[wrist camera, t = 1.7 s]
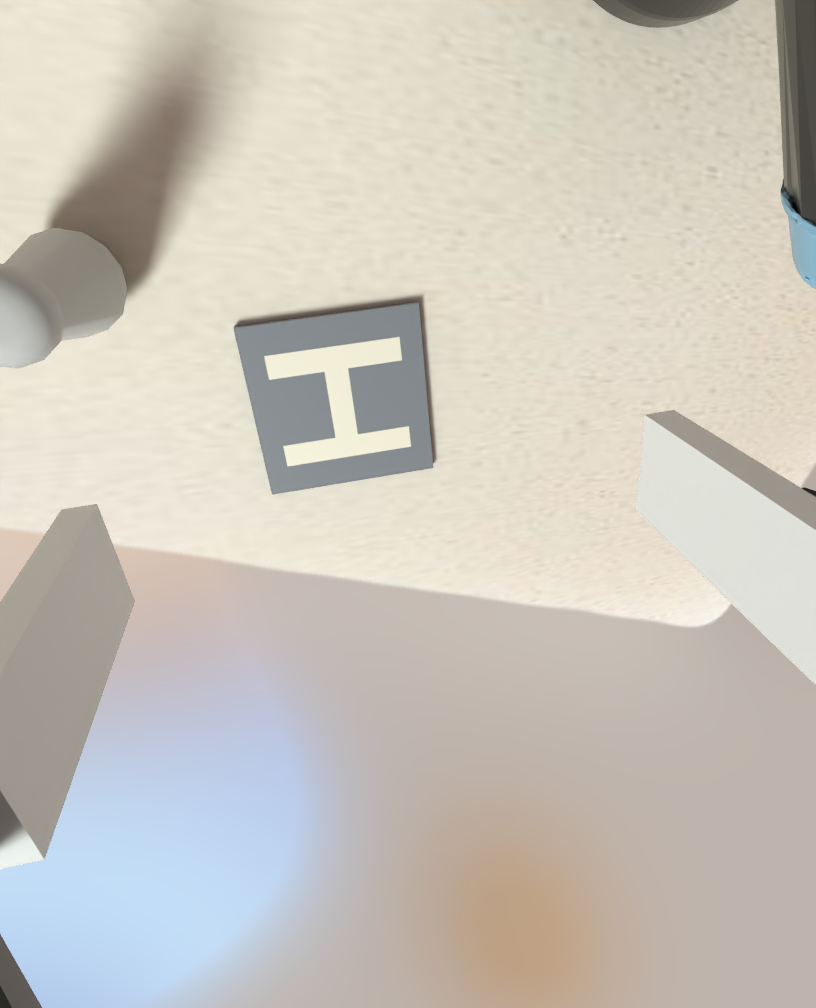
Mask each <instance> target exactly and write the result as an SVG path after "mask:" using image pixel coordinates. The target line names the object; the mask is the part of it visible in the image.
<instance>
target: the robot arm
mask: <svg viewBox="0 0 816 1008" xmlns="http://www.w3.org/2000/svg"><path fill="white" fill-rule="evenodd" d="M594 1H595V2H596V3H597V4H598V5H599V6H601V7H602V8H603V9H605V10H606V11H607V12H609V13H610V14H612V15H614V16H615V17H617V18H620V19H622V20H624V21H626V22H629V23H632V24H636V25H639V26H645V27H657V28H659V27H671V26H677V25H682V24H686V23H689V22H692V21H694V20H697V19H700V18H702V17H705V16H708V15H710V14H713V13H715V12H718V11H720V10H722V9H724V8H726V7H728V6H730V5H732V4H733V3H735V2H736V1H738V0H594ZM775 9H776V26H777V43H778V60H779V79H780V102H781V124H782V147H783V170H784V179H783V184H782V188H781V200H782V204H783V207H784V209H785V212H786V213H787V214H788V219H789V228H790V237H791V246H792V255H793V260H794V264H795V267H796V269H797V271H798V273H799V274H800V276H801V277H802V279H803V280H804V281H805V282H806V283H807V284H809V285H810V286H811V287H813V288H815V289H816V0H775ZM636 512H637V513H638V514H639V515H640V516H641V517H643V518H644V519H645V520H646V521H647V522H648V523H649V524H650V525H651V526H652V527H653V528H654V529H655V530H656V531H657V532H658V533H659V534H660V535H661V536H662V537H663V538H664V539H665V540H666V541H667V542H668V543H669V544H670V545H671V546H672V547H674V548H675V549H676V550H677V551H678V552H679V553H680V554H681V555H682V556H683V557H684V558H685V559H686V560H687V561H688V562H689V563H690V564H691V565H692V566H693V567H694V568H695V569H696V570H697V571H698V572H699V573H700V574H701V575H702V576H703V577H705V578H706V579H707V580H708V581H709V582H710V583H711V584H712V585H713V586H714V587H715V588H716V589H717V590H718V591H719V592H720V593H721V594H722V595H723V596H724V597H725V598H726V599H727V600H728V601H729V602H730V603H731V604H732V605H733V606H734V607H736V608H737V609H738V610H739V611H740V612H741V613H742V614H743V615H744V616H745V617H746V618H747V619H748V620H749V621H750V622H751V623H752V624H753V625H754V626H755V627H756V628H757V629H758V630H759V631H760V632H762V634H763V635H764V636H766V637H767V638H768V639H769V640H770V641H771V642H772V643H773V644H774V645H775V646H776V647H777V648H778V649H779V650H780V651H781V652H782V653H783V654H784V655H785V656H786V657H787V658H788V659H790V661H791V662H792V663H793V664H794V665H795V666H797V667H798V668H799V669H800V670H801V671H802V672H803V673H804V674H805V675H806V676H807V677H808V678H809V679H810V680H811V681H812V682H813V683H814V684H815V685H816V491H813V490H810V489H808V488H800V487H798V486H797V485H795V484H794V483H792V482H790V481H789V480H787V479H785V478H784V477H782V476H780V475H779V474H777V473H776V472H774V471H772V470H771V469H769V468H767V467H766V466H764V465H763V464H761V463H759V462H758V461H756V460H754V459H753V458H751V457H749V456H748V455H746V454H745V453H743V452H741V451H740V450H738V449H736V448H735V447H733V446H732V445H730V444H728V443H727V442H725V441H723V440H722V439H720V438H719V437H717V436H715V435H714V434H712V433H710V432H709V431H707V430H705V429H704V428H702V427H701V426H699V425H697V424H696V423H694V422H692V421H691V420H689V419H688V418H686V417H684V416H683V415H681V414H679V413H678V412H676V411H674V410H672V411H666V412H659V413H653V414H647V415H645V419H644V430H643V441H642V452H641V463H640V474H639V485H638V496H637V507H636ZM134 602H135V601H134V598H133V596H132V593H131V590H130V588H129V585H128V583H127V580H126V577H125V575H124V572H123V570H122V567H121V565H120V562H119V559H118V557H117V554H116V552H115V549H114V547H113V544H112V542H111V539H110V536H109V534H108V531H107V529H106V526H105V524H104V521H103V518H102V516H101V513H100V511H99V508H98V506H97V504H94V505H88V506H82V507H75V508H69V509H63V510H61V511H60V513H59V514H58V516H57V517H56V519H55V520H54V522H53V523H52V525H51V526H50V528H49V530H48V531H47V533H46V534H45V536H44V537H43V539H42V540H41V542H40V543H39V545H38V546H37V548H36V549H35V551H34V552H33V554H32V555H31V557H30V558H29V560H28V561H27V563H26V564H25V566H24V567H23V569H22V570H21V572H20V573H19V575H18V576H17V578H16V579H15V581H14V583H13V584H12V585H11V587H10V589H9V590H8V591H7V593H6V594H5V596H4V597H3V599H2V601H1V602H0V869H2V868H6V867H11V866H16V865H20V864H25V863H29V862H34V861H39V860H43V859H44V858H45V856H46V853H47V850H48V847H49V844H50V842H51V839H52V836H53V833H54V830H55V827H56V825H57V821H58V819H59V816H60V813H61V810H62V807H63V805H64V802H65V799H66V796H67V793H68V790H69V787H70V785H71V782H72V779H73V776H74V773H75V770H76V767H77V765H78V762H79V759H80V756H81V753H82V750H83V747H84V744H85V742H86V739H87V736H88V733H89V730H90V727H91V725H92V722H93V719H94V716H95V713H96V710H97V708H98V705H99V702H100V699H101V696H102V693H103V690H104V687H105V685H106V682H107V679H108V676H109V673H110V670H111V668H112V665H113V662H114V659H115V656H116V653H117V650H118V647H119V645H120V642H121V639H122V636H123V633H124V631H125V627H126V625H127V622H128V619H129V616H130V613H131V610H132V608H133V605H134ZM0 1008H42V1007H41V1005H40V1003H39V1002H38V1000H37V998H36V996H35V995H34V993H33V991H32V989H31V988H30V986H29V984H28V982H27V980H26V979H25V977H24V975H23V973H22V972H21V970H20V968H19V967H18V965H17V963H16V961H15V959H14V958H13V956H12V954H11V952H10V951H9V949H8V947H7V945H6V944H5V942H4V940H3V938H2V937H1V935H0Z"/></svg>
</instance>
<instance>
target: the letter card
mask: <svg viewBox="0 0 816 1008" xmlns="http://www.w3.org/2000/svg"><path fill="white" fill-rule="evenodd" d="M234 332H235V336H236V341H237V345H238V349H239V354H240V358H241V362H242V367H243V371H244V375H245V380H246V384H247V388H248V392H249V397H250V401H251V405H252V410H253V414H254V418H255V423H256V427H257V431H258V436H259V440H260V444H261V449H262V453H263V457H264V461H265V466H266V470H267V474H268V479H269V483H270V487H271V492H272V494H278V493H284V492H290V491H297V490H303V489H309V488H315V487H321V486H327V485H333V484H339V483H345V482H351V481H357V480H363V479H369V478H375V477H381V476H387V475H393V474H399V473H405V472H411V471H417V470H423V469H429V468H433V459H432V447H431V436H430V424H429V413H428V402H427V390H426V379H425V367H424V356H423V344H422V333H421V321H420V310H419V303H418V302H411V303H404V304H396V305H389V306H382V307H375V308H367V309H360V310H353V311H345V312H338V313H331V314H324V315H316V316H309V317H302V318H294V319H287V320H280V321H273V322H265V323H258V324H251V325H243V326H236V327H234Z"/></svg>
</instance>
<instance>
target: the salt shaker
mask: <svg viewBox="0 0 816 1008" xmlns="http://www.w3.org/2000/svg"><path fill="white" fill-rule="evenodd" d="M126 294H127V287H126V282H125V278H124V274H123V270H122V267H121V265H120V264H119V263H118V261H117V260H116V259H115V258H114V256H113V255H112V254H111V253H110V251H109V250H108V249H107V248H106V246H105V245H103V244H101V243H100V242H98V241H96V240H95V239H93V238H92V237H90V236H88V235H87V234H85V233H83V232H80V231H73V230H66V229H59V228H51V229H48V230H45V231H42V232H39V233H36V234H33V235H31V236H30V237H29V238H28V239H27V240H26V241H25V242H24V243H23V244H22V245H21V246H20V247H19V248H18V249H17V251H16V252H15V253H14V254H13V255H12V256H11V257H10V258H9V259H8V260H7V261H6V262H5V263H4V264H0V367H10V368H21V367H25V366H28V365H30V364H33V363H36V362H39V361H42V360H44V359H45V358H46V357H47V356H48V355H49V354H50V353H51V351H52V350H53V349H54V348H55V347H56V346H57V345H58V344H59V343H60V341H63V340H70V339H77V338H84V337H89V336H91V335H94V334H97V333H99V332H102V331H105V330H108V329H109V328H110V327H111V326H112V325H113V324H114V323H115V322H116V320H117V319H118V318H119V317H120V316H121V315H122V314H123V310H124V305H125V299H126Z"/></svg>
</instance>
